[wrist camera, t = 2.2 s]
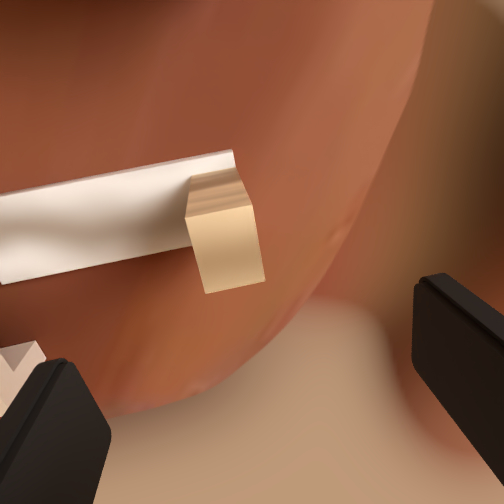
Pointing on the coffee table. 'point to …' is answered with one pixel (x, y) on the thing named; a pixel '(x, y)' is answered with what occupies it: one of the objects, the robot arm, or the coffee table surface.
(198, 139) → the coffee table surface
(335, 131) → the coffee table surface
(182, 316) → the coffee table surface
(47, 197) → the white-handled mallet
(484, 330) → the robot arm
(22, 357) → the cream flanged plate
